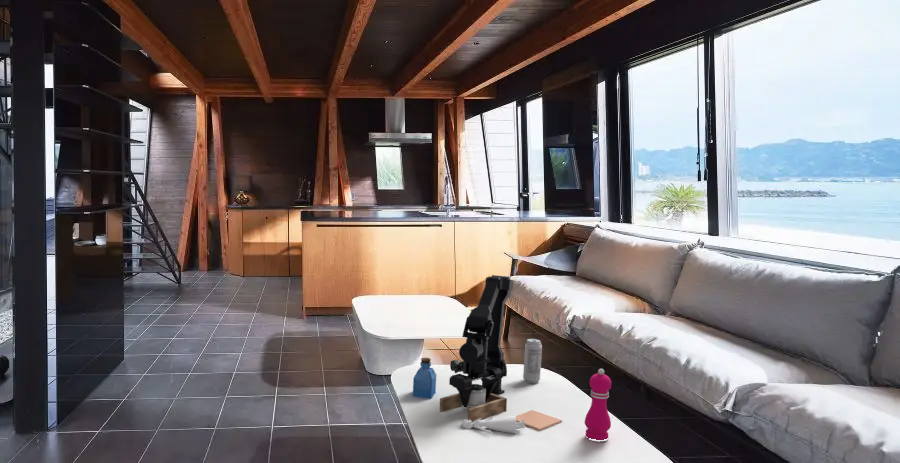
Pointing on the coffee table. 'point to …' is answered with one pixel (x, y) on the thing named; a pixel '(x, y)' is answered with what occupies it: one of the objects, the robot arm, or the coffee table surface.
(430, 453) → the coffee table surface
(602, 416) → the pepper mill
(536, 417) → the terracotta coaster
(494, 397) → the frame
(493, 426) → the woman figurine
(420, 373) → the perfume bottle
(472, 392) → the camera lens
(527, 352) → the energy drink can
